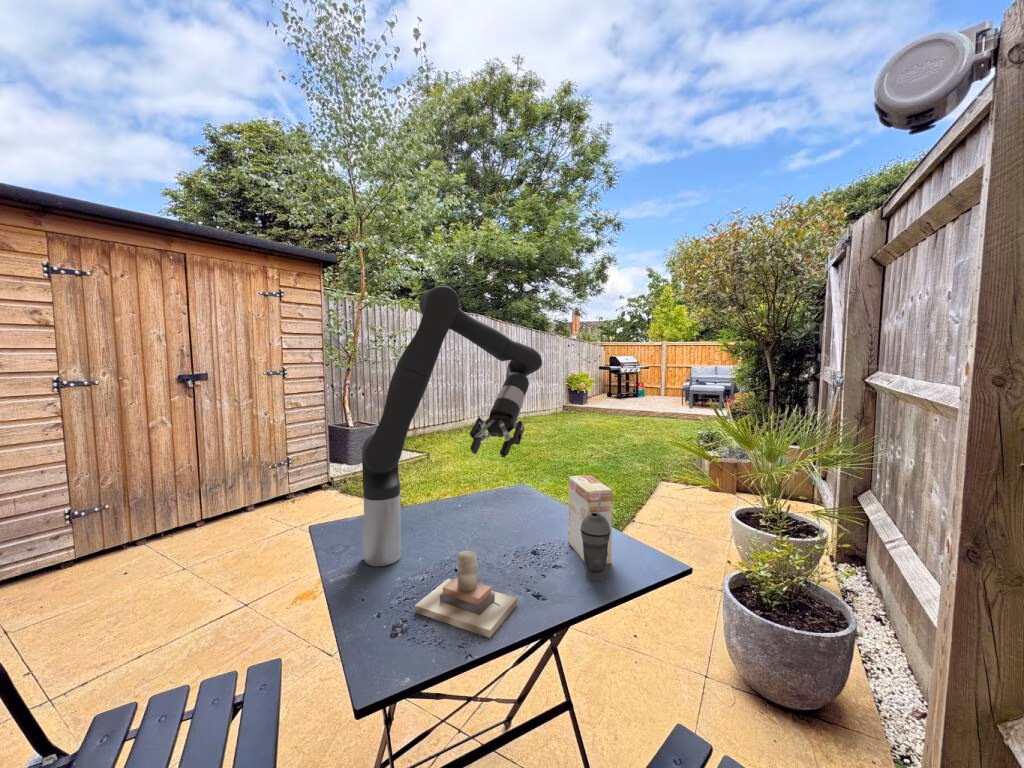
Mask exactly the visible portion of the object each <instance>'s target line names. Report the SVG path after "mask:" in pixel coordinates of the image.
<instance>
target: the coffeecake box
mask: <svg viewBox="0 0 1024 768" xmlns="http://www.w3.org/2000/svg"><path fill="white" fill-rule="evenodd" d="M599 497H601V504H600V512H599V514H601V515H603V516H604V517H605V518H606V519H607V521H608V523H609V526H610V531H611V533H610V537H609V541H608V549H607V558H606V565H608V564H612V534H613V531H612V528H613V489H611V488H610V487H608V486H607V485H605V484H604V483H602V482H601V481H599V480H598V479H597V478H595V477H593V476H592V475H591V474H589V475H588V474H585V475H583V474H582V475H568V508H567V509H568V510H567V511H568V515H567V517H568V519H567V521H568V522H567V524H568V525H567V526H568V527H567V529H568V530H567V531H568V532H567V536H568V537H567V542H568V543H569V544H570V545H571V547H572V548H573V549H574V551H575V552H576V554H577V555H578V556H579V557H580V558H581V560H582V561H583V562H584V553H583V539H582V536H581V531H580V529H581V524H582V521H583V519H584V518H585V517H586V516H587V515H589V514H591V513H597V512H598V504H599Z"/></svg>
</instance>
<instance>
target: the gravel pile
mask: <svg viewBox="0 0 1024 768" xmlns="http://www.w3.org/2000/svg"><path fill="white" fill-rule="evenodd" d="M383 628H386V625H384V626H383ZM409 629H410V627H409V622H408V619H406V618H405V617H402V618H401V619H400V620H397V622H396V623H394V624H392V626H391V630H392V632H391V633H390V634H389V637H390V638H396V637H399V636H401V635H403V634H404V633H405V634H406V633H407V631H408V630H409Z"/></svg>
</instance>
